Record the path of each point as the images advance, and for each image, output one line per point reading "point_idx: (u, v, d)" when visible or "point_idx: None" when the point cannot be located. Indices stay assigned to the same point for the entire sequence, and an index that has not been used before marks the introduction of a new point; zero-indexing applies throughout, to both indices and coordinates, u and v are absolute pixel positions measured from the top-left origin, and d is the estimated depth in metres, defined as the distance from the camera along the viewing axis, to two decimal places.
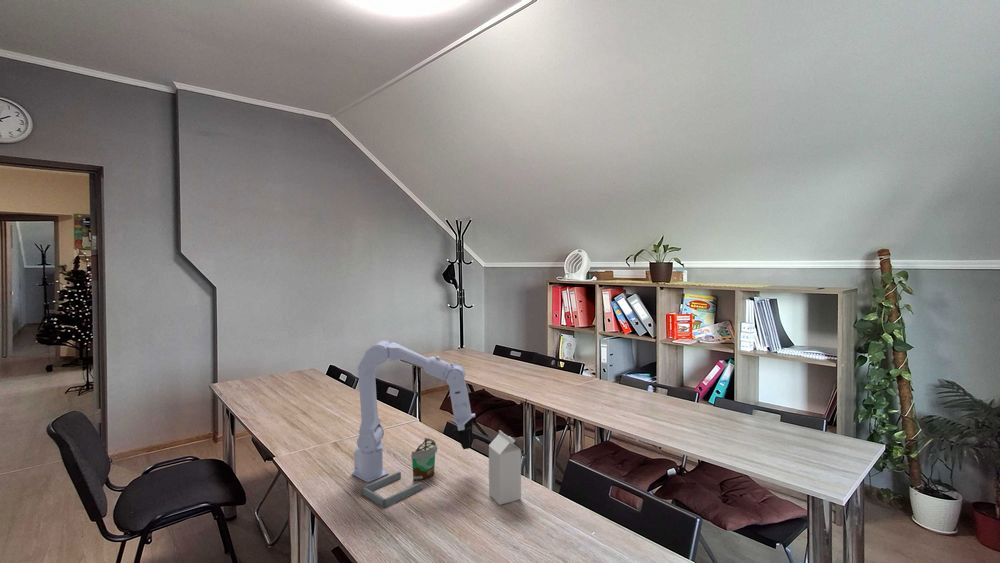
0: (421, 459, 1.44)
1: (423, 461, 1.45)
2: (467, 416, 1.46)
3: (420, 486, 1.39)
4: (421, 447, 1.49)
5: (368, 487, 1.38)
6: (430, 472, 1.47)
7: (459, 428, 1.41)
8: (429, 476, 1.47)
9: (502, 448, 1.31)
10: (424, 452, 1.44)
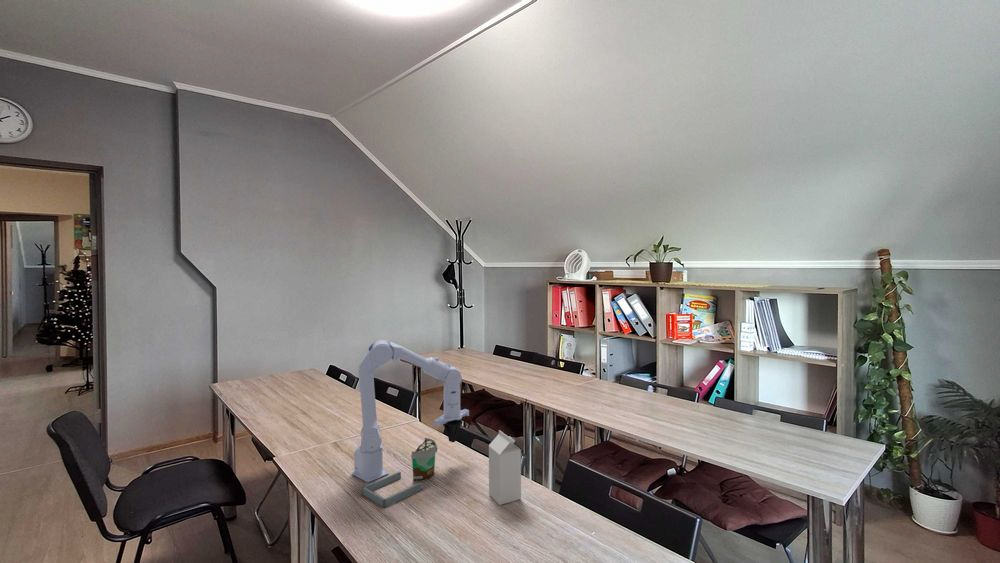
0: (421, 459, 1.44)
1: (423, 461, 1.45)
2: (451, 416, 1.54)
3: (420, 486, 1.39)
4: (421, 447, 1.49)
5: (368, 487, 1.38)
6: (430, 472, 1.47)
7: (435, 424, 1.51)
8: (429, 476, 1.47)
9: (502, 448, 1.31)
10: (424, 452, 1.44)
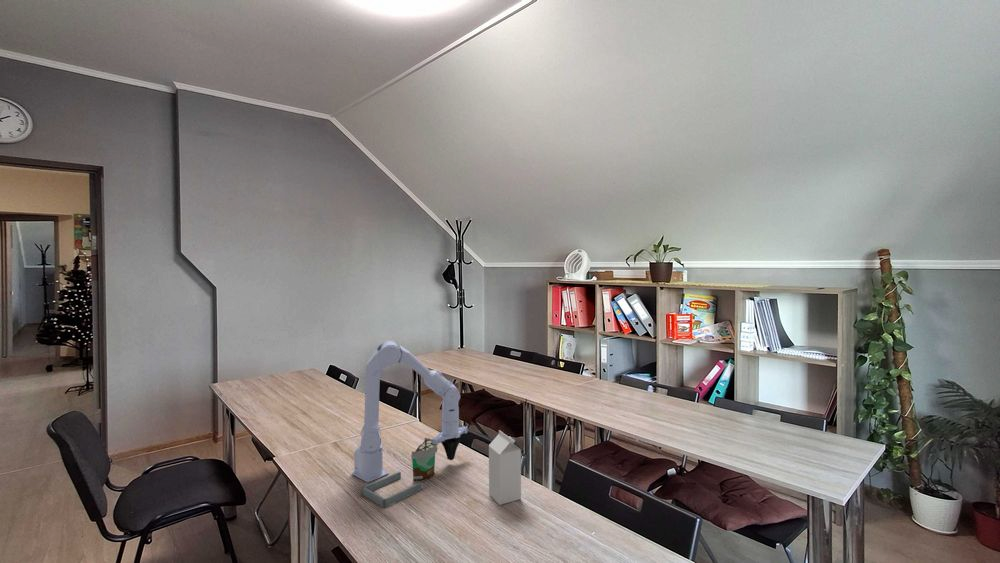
0: (421, 459, 1.44)
1: (423, 461, 1.45)
2: (449, 434, 1.53)
3: (420, 486, 1.39)
4: (421, 447, 1.49)
5: (368, 487, 1.38)
6: (430, 472, 1.47)
7: (433, 442, 1.51)
8: (429, 476, 1.47)
9: (502, 448, 1.31)
10: (424, 452, 1.44)
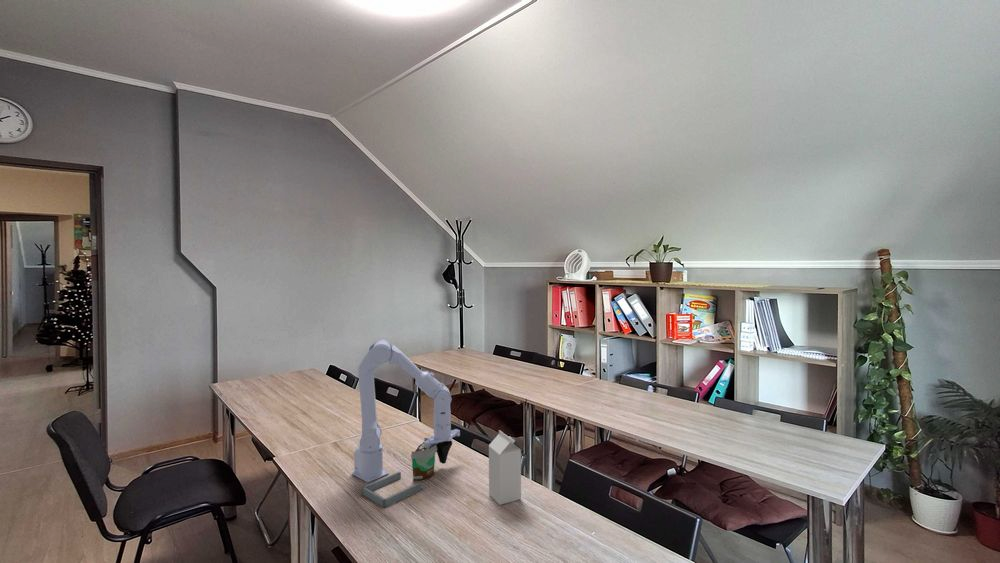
0: (421, 459, 1.44)
1: (423, 461, 1.44)
2: (441, 437, 1.51)
3: (420, 486, 1.39)
4: (421, 447, 1.48)
5: (368, 487, 1.38)
6: (430, 472, 1.47)
7: (424, 445, 1.48)
8: (429, 476, 1.47)
9: (502, 448, 1.31)
10: (424, 452, 1.44)
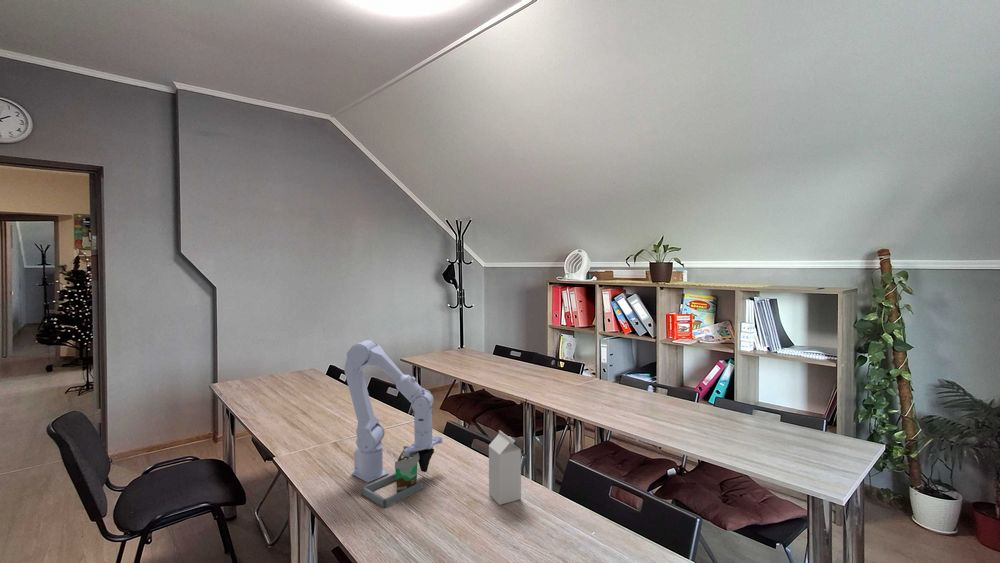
0: (405, 468, 1.38)
1: (407, 471, 1.38)
2: (421, 445, 1.44)
3: (420, 486, 1.39)
4: (402, 456, 1.42)
5: (368, 487, 1.38)
6: (414, 481, 1.41)
7: (404, 453, 1.42)
8: None
9: (502, 448, 1.31)
10: (408, 461, 1.38)
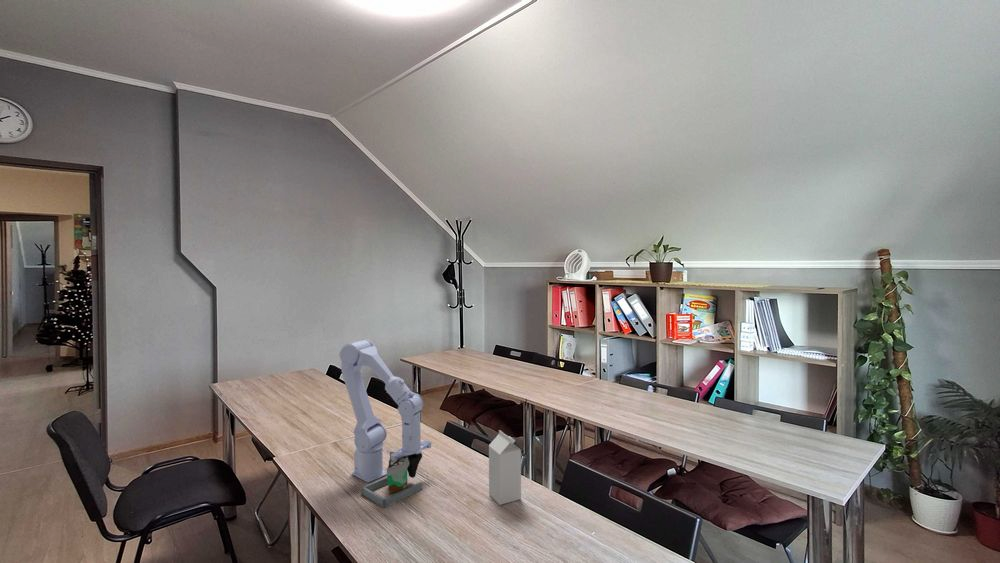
0: (397, 474, 1.34)
1: (399, 476, 1.34)
2: (409, 450, 1.41)
3: (420, 486, 1.39)
4: (392, 462, 1.38)
5: (368, 487, 1.38)
6: (405, 486, 1.37)
7: (391, 459, 1.39)
8: None
9: (502, 448, 1.31)
10: (400, 466, 1.34)
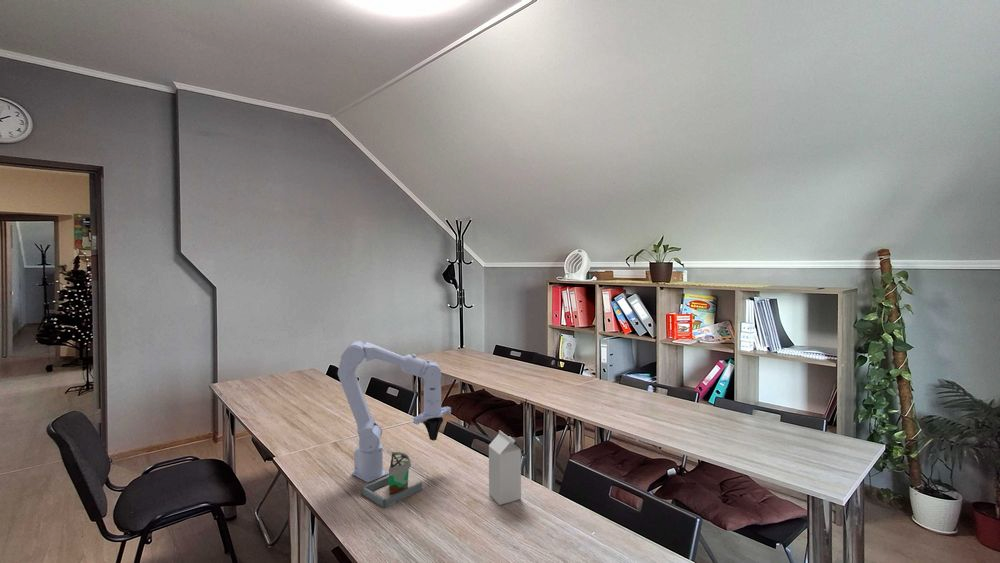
0: (399, 475, 1.34)
1: (400, 477, 1.34)
2: (431, 414, 1.49)
3: (420, 486, 1.39)
4: (394, 462, 1.38)
5: (368, 487, 1.38)
6: (406, 487, 1.37)
7: (414, 421, 1.46)
8: None
9: (502, 448, 1.31)
10: (402, 467, 1.34)
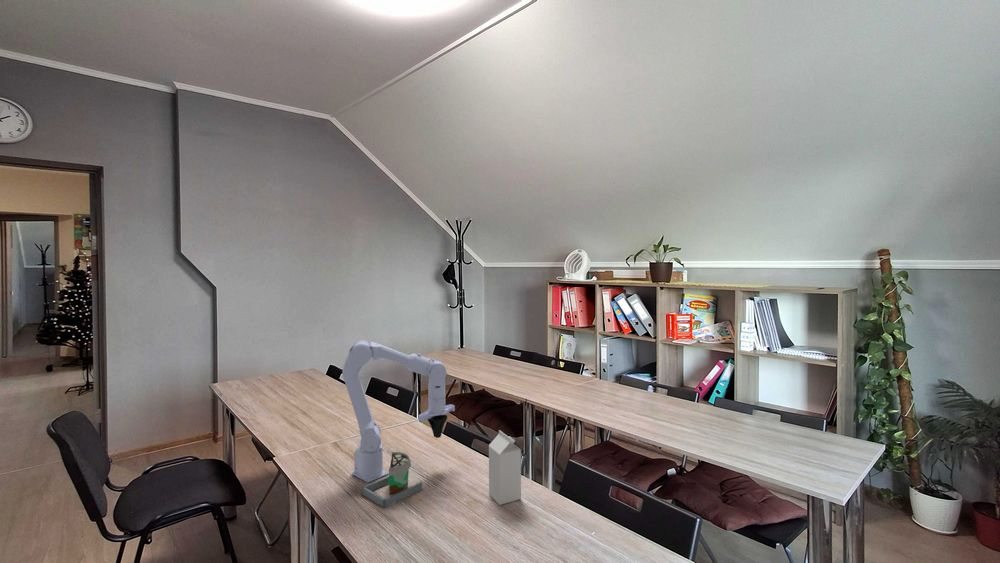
0: (399, 475, 1.34)
1: (400, 477, 1.34)
2: (435, 411, 1.51)
3: (420, 486, 1.39)
4: (394, 462, 1.38)
5: (368, 487, 1.38)
6: (406, 487, 1.37)
7: (419, 419, 1.49)
8: None
9: (502, 448, 1.31)
10: (402, 467, 1.34)
